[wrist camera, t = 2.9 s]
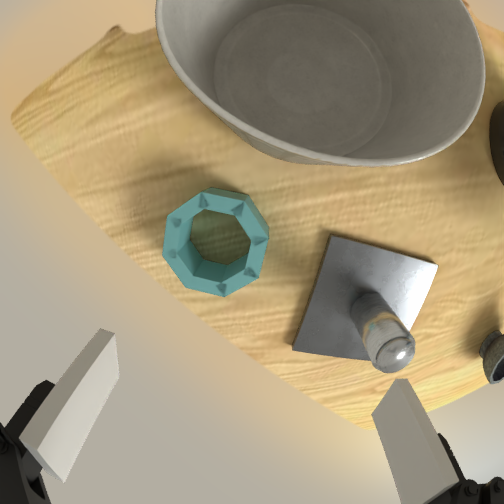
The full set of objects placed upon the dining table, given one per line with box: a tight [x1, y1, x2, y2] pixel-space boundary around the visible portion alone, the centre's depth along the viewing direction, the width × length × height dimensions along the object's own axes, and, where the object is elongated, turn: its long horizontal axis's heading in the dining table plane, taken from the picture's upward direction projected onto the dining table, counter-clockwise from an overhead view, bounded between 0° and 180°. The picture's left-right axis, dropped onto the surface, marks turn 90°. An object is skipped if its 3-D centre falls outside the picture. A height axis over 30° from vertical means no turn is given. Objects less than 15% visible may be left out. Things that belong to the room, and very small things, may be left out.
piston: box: [292, 234, 438, 373], centre depth 28 cm, size 16×16×11 cm
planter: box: [155, 0, 485, 167], centre depth 17 cm, size 19×19×18 cm
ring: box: [162, 187, 269, 297], centre depth 29 cm, size 10×10×5 cm
